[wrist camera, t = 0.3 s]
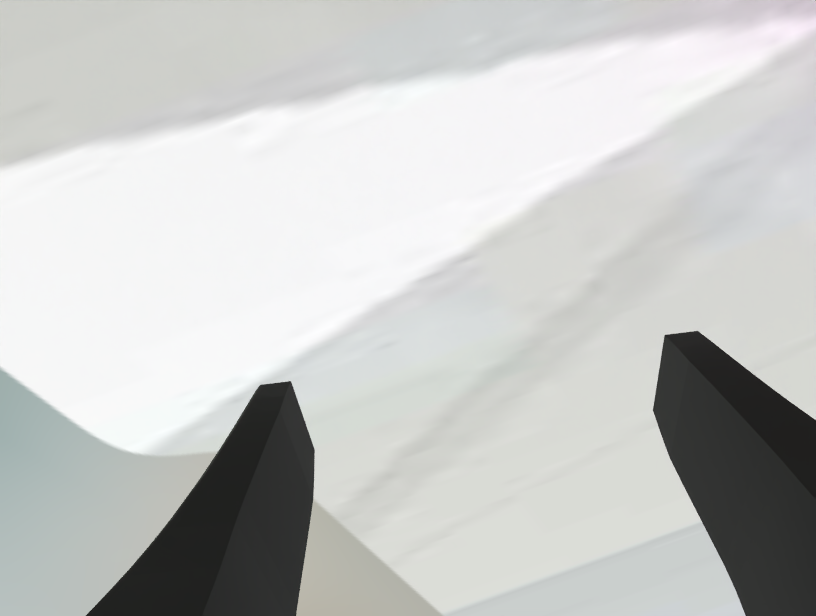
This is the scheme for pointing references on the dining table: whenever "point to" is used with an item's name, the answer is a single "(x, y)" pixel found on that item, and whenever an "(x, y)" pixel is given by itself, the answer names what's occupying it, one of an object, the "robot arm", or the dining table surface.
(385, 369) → the dining table surface
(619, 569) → the dining table surface
